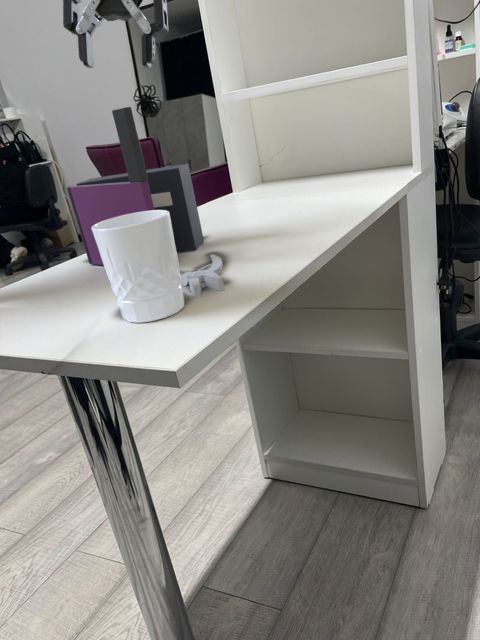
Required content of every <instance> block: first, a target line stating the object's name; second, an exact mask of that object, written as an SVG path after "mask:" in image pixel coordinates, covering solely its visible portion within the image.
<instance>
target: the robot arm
mask: <svg viewBox="0 0 480 640" xmlns="http://www.w3.org/2000/svg"><path fill="white" fill-rule="evenodd" d="M143 1H144V0H88V3H87V4H86V7H85V8H84V10H83V11H82V17H81V18H80V4H81V3H82V2H83V0H62V18H63V19H62V25H63V28H64V29H65V30H67V31H68V32H70V33H71V34H72V35H75V36H77V46H78V47H77V48H78V49H77V50H78V58H79V60H80V62H82V64H83V66H84V67H86V68H87V69H88V68H89V69H93V68H94V65H95V64H94V63H95V62H94V45H93V44H94V43H93V41H94V40H93V39H92V37H93V35H94V34H95V31H96V30H97V28H99V27H101V25H102V23H103V22H104V20H106V21H107V22H114V21H117V20H119V21H122V22H130V20H131V19H132V18H133V20H134V21H135V22H136V24H137V25H138V27H139V28H140V29H141V31H142V35H141V36H140V38H141V39H140V40H141V42H140V44H141V64H142V66H143V67H144V68H145V69H152V65H154V64H155V62H156V39H157V37H159V36H161V35H167V34H168V33H169V19H168V17H169V15H168V3H167V2H168V1H167V0H150V1H151V2H152V3H153V15H154V22H152V23H150V22H149V20H148V19H147V18H146V16H145V15H144V13H143V12H142V10H141V9H140V6H141V5H142V3H143Z"/></svg>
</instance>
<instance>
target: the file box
mask: <svg viewBox="0 0 480 640" xmlns="http://www.w3.org/2000/svg"><path fill="white" fill-rule="evenodd" d="M190 171H191V170H190V167H189V163H181V164H177V165H176V164H175V165H168V166H163V167H156V168H150V169H146V172H147V176H148V180H147V181H148V184H149V189H150V193H151V197H152V201H153V205H154V209H155V210H167V211H169V213H170V219H171V224H172V230H173V235H174V240H175V246H176V251H177V254H179V253H186V252H192V251H197V250H198V249H199V248H200V247H201V246H202V245H203V244H204V243H205V239H204V233H203V230H202V224H201V220H200V215H199V209H198V205H197V201H196V195H195V190H194V185H193V180H192V175H191V172H190ZM119 182H130V181H129V177H128V173H127V172H124V173H118V174H112V175H106V176H99V177H93V178H89V179H86V180H83V181H81V182H78V183H76V186H79V185H93V184H106V183H119Z"/></svg>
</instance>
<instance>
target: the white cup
mask: <svg viewBox="0 0 480 640" xmlns="http://www.w3.org/2000/svg"><path fill="white" fill-rule="evenodd" d="M91 229H92V232H93V235H94V238H95V241H96V244H97V247H98V250H99V253H100V256H101V259H102V262H103V265H102V266H103V267H104V270H105V273H106V276H107V279H108V281H109V284H110V286H111V290H112V292H113V294H114V296H115V297H116V301H117V304H118V307H119V311H120V313H121V316H122V318H123V319H124V320H125V321H127V322H128V323H136V324H137V323H148V322H154V321H158V320H162V319H165V318H168V317H171V316H173V315H175V314H177V313H178V312H180V311H181V310H182V309H184V307H185V297H184V292H183V286H181V275H180V274H181V270H180V263H179V258H178V253H177V251H176V246H175V240H174V235H173V230H172V224H171V219H170V213H169V211H167V210H150V211H142V212H136V213H131V214H126V215H122V216H118V217H114V218H110V219H107V220H104V221H101V222H99V223H97V224H95V225H93V226H92V227H91Z"/></svg>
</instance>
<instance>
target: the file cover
mask: <svg viewBox="0 0 480 640" xmlns="http://www.w3.org/2000/svg"><path fill="white" fill-rule="evenodd" d="M111 113H112V117H113V121H114V125H115V129H116V134H117V137H118V140H119V145H120V149H121V153H122V157H123V160H124V165H125V169H126V173H128V177H129V181H130V182H119V183H106V184H93V185H79V186H77V185H70V186H67V187H66V191H67V194H68V197H69V201H70V204H71V208H72V211H73V214H74V217H75V221H76V224H77V227H78V231H79V234H80V237H81V240H82V244H83V247H84V251H85V254H86V258H87V261H88V264H89V265H96V266H97V265H98V266H99V265H100V266H104V265H103V262H102V259H101V256H100V253H99V250H98V247H97V244H96V241H95V238H94V235H93V232H92V229H91V227H92V226H93V225H95V224H97V223H99V222H101V221H104V220H107V219H110V218H114V217H118V216H122V215H126V214H131V213H136V212H142V211H150V210H155V209H154V205H153V201H152V197H151V193H150V189H149V184H148V181H147V180H148V176H147V172H146V170H147V167H146V164H145V160H144V155H143V151H142V146H141V143H140V139H139V133H138V130H137V126H136V121H135V118H134V114H133V109H132V106H126V107H121V108H116V109H112V110H111Z"/></svg>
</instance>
